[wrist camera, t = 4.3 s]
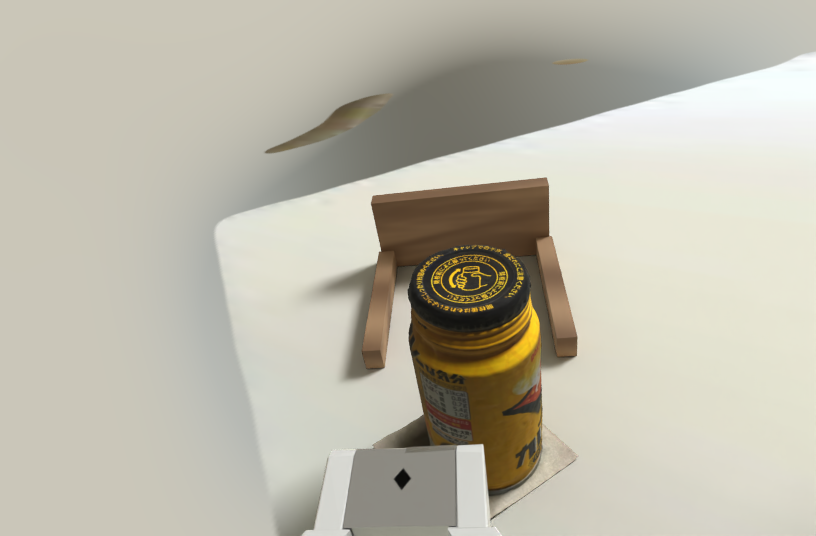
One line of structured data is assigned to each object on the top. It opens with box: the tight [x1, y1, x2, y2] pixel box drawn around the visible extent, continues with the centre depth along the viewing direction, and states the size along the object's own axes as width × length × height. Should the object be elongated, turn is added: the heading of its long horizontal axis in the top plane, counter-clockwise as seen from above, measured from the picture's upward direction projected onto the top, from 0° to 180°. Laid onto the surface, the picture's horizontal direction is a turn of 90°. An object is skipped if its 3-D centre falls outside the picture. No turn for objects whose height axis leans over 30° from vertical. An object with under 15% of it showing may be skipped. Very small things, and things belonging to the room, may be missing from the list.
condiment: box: [373, 245, 578, 519], centre depth 28 cm, size 7×8×12 cm
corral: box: [362, 178, 577, 369], centre depth 39 cm, size 12×13×6 cm
